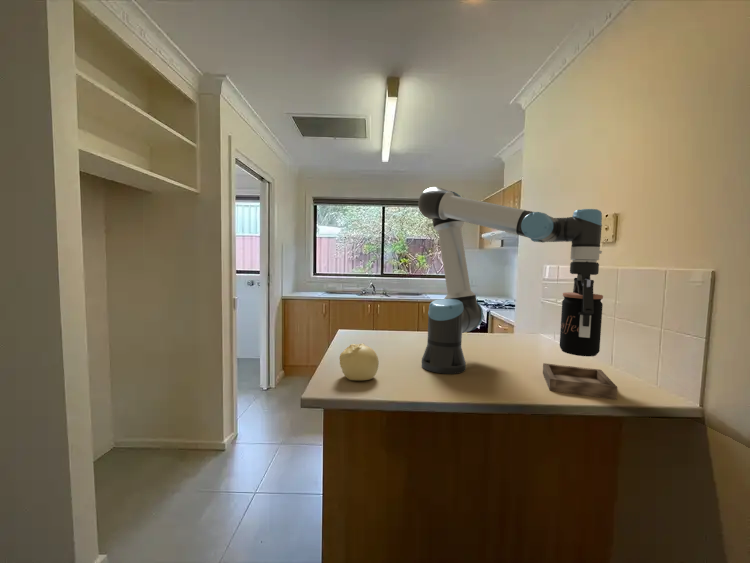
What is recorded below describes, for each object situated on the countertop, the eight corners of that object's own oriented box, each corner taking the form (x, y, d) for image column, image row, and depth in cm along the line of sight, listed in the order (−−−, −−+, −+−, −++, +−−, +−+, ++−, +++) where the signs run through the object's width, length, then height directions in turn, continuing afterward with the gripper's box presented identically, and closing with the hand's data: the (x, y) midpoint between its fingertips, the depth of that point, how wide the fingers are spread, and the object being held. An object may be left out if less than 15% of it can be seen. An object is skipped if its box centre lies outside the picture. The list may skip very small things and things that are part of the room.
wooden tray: (549, 390, 105) (550, 378, 105) (542, 373, 121) (543, 363, 121) (616, 399, 100) (617, 387, 100) (600, 380, 116) (600, 369, 116)
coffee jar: (552, 347, 115) (555, 292, 114) (584, 348, 115) (587, 292, 114) (572, 357, 104) (576, 295, 103) (607, 357, 105) (611, 296, 104)
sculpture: (347, 370, 119) (348, 338, 118) (382, 374, 115) (383, 341, 114) (333, 381, 108) (334, 346, 107) (371, 386, 104) (372, 350, 103)
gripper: (610, 261, 96) (604, 342, 97) (589, 261, 118) (585, 327, 119) (578, 260, 98) (573, 340, 100) (564, 261, 120) (560, 325, 122)
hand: (579, 333), depth 109 cm, fingers closed on coffee jar, 11 cm apart
